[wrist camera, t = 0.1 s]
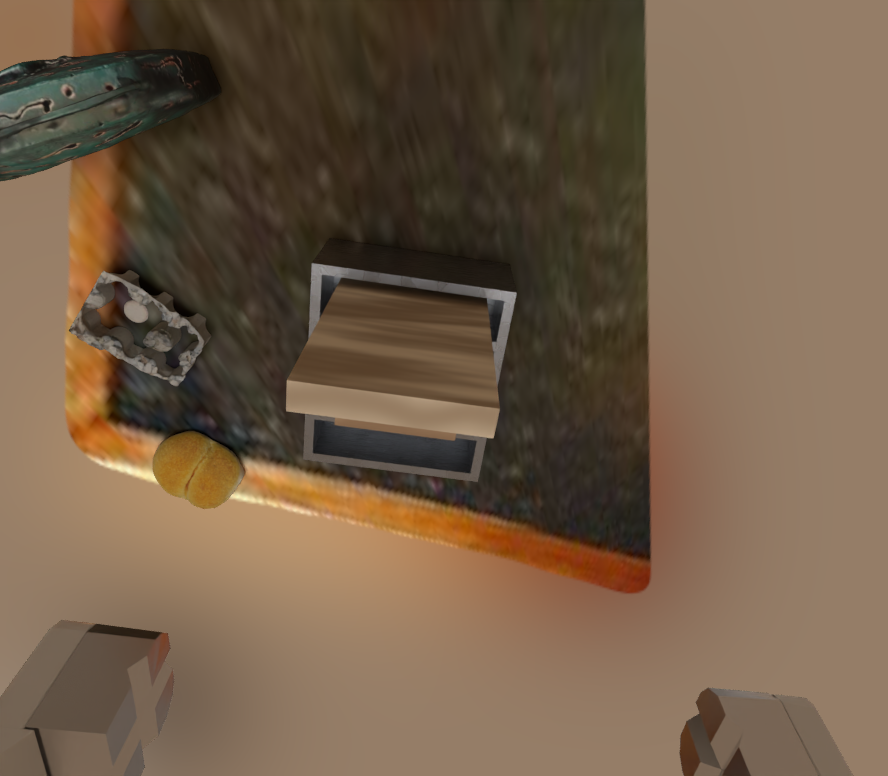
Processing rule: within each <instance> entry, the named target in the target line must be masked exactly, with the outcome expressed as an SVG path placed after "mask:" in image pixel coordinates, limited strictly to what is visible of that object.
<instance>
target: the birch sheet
mask: <svg viewBox="0 0 888 776" xmlns="http://www.w3.org/2000/svg"><path fill="white" fill-rule="evenodd" d="M499 410H500V407H499V398H498V390H497V381H496V372H495V364H494V355H493V347H492V338H491V330H490V321H489V313H488V304H487V298H482V297H475V296H468V295H461V294H454V293H447V292H440V291H433V290H426V289H419V288H412V287H405V286H398V285H391V284H384V283H377V282H370V281H363V280H356V279H349V278H342V277H341V279H340V281H339V283H338V285H337V287H336V289H335V291H334V293H333V294H332V296H331V298H330V300H329V302H328V304H327V306H326V308H325V309H324V311H323V313H322V315H321V317H320V319H319V321H318V323H317V325H316V326H315V328H314V330H313V332H312V334H311V336H310V338H309V340H308V342H307V343H306V345H305V347H304V349H303V351H302V353H301V355H300V357H299V358H298V360H297V362H296V364H295V366H294V368H293V370H292V372H291V374H290V375H289V377H288V379H287V397H286V411H290V412H297V413H305V414H312V415H320V416H328V417H335V418H343V419H350V420H358V421H365V422H373V423H381V424H388V425H396V426H403V427H411V428H418V429H426V430H433V431H441V432H449V433H456V434H464V435H471V436H479V437H486V438H494V434H495V429H496V424H497V420H498V415H499Z"/></svg>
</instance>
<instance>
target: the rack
mask: <svg viewBox="0 0 888 776" xmlns="http://www.w3.org/2000/svg"><path fill="white" fill-rule="evenodd" d="M341 277H342V278H349V279H356V280H363V281H370V282H377V283H384V284H391V285H398V286H405V287H412V288H419V289H426V290H433V291H440V292H447V293H454V294H461V295H468V296H475V297H482V298H487V304H488V313H489V321H490V330H491V338H492V347H493V355H494V364H495V372H496V381H497V386H498V381H499V376H500V371H501V366H502V362H503V357H504V352H505V347H506V342H507V337H508V333H509V328H510V323H511V318H512V313H513V308H514V304H515V299H516V294H517V292H516V287H515V283H514V279H513V275H512V271H511V267H510V264H503V263H496V262H490V261H483V260H476V259H469V258H462V257H455V256H449V255H442V254H435V253H428V252H421V251H414V250H407V249H401V248H394V247H387V246H380V245H373V244H366V243H359V242H353V241H346V240H339V239H332V238H329V240H328V241H327V243H326V244H325V245H324V247H323V248H322V250H321V251H320V253H319V254H318V255H317V257H316V258H315V260H314V261H313V262H312V273H311V296H310V319H309V338H310V336H311V334H312V332H313V330H314V328H315V326H316V325H317V323H318V321H319V319H320V317H321V315H322V313H323V311H324V309H325V308H326V306H327V304H328V302H329V300H330V298H331V296H332V294H333V293H334V291H335V289H336V287H337V285H338V283H339V281H340V279H341ZM486 439H487V438H486V437H479V436H471V435H464V434H456V437H455V441H452V440H445V439H437V438H429V437H422V436H414V435H407V434H399V433H391V432H384V431H376V430H369V429H361V428H353V427H346V426H338V425H335V417H328V416H320V415H312V414H305V433H304V456H303V459H304V460H312V461H320V462H328V463H335V464H343V465H351V466H359V467H366V468H374V469H382V470H390V471H397V472H405V473H413V474H421V475H429V476H436V477H444V478H452V479H460V480H467V481H475V482H478V477H479V473H480V468H481V463H482V458H483V453H484V449H485V444H486Z"/></svg>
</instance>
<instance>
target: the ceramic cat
mask: <svg viewBox="0 0 888 776" xmlns="http://www.w3.org/2000/svg"><path fill="white" fill-rule="evenodd" d="M220 93H221V89H220V86H219V84H218V81H217V79H216V77H215V75H214V73H213V71H212V68H211V65H210V62H209V60H208V57H206V56H204V55H200V54H198V53H195V52H188V51H181V50H174V49H157V50H133V51H124V52H115V53H106V54H99V55H93V56H81V57H67V56H61V57H59V58H57V59H54V60H36V61H28V62H22V63H18V64H15V65H13V66H10V67H8V68H6V69H4V70H2V71H0V181H5V180H11V179H16V178H19V177H22V176H26V175H30V174H34V173H36V172H40V171H44V170H47V169H49V168H52V167H54V166H57V165H59V164H62V163H64V162H67V161H70V160H72V159H76V158H79V157H82V156H85V155H89V154H91V153H94V152H97V151H100V150H103V149H105V148H108V147H111V146H113V145H115V144H117V143H119V142H121V141H123V140H125V139H127V138H130V137H132V136H135V135H137V134H139V133H142V132H144V131H146V130H149V129H151V128H153V127H155V126H158V125H160V124H163V123H165V122H168V121H170V120H173V119H175V118H177V117H180V116H183V115H184V114H186V113H188V112H189V111H191V110H192V109H194V108H196V107H199V106H201V105H203V104H205V103H207V102H209V101H211V100H213V99H214V98H216V97H217V96H218V95H220Z"/></svg>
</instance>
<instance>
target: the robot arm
mask: <svg viewBox="0 0 888 776" xmlns="http://www.w3.org/2000/svg"><path fill="white" fill-rule="evenodd" d="M169 651H170V642H169V636H168V633H162V632H154V631H147V630H140V629H131V628H124V627H116V626H109V625H101V624H94V623H85V622H76V621H67V620H61V621H59V622H58V623H57V624H56V625H54V626H53V627H52V628H51V629H49V630H48V632H47V633H46V635H45V636H44V637H43V639H42V640H41V641H40V643H39V644H38V646H37V647H36V648H35V650H34V651H33V652H32V654H31V655H30V657H29V658H28V659H27V661H26V662H25V664H24V665H23V667H22V668H21V669H20V671H19V672H18V673H17V675H16V676H15V678H14V679H13V680H12V682H11V683H10V684H9V686H8V687H7V689H6V690H5V691H4V693H3V694H2V695H1V697H0V776H141V774H142V772H143V770H144V768H145V765H144V758H143V751H142V749H143V748H144V747H145V746H147V745H148V744H149V743H150V742H152V741H153V740H154V739H155V738H157V737H158V736H159V734H160V731H161V729H162V726H163V724H164V722H165V720H166V717H167V714H168V710H169V707H170V703H171V699H172V695H173V686H174V674H173V668H172V667H170V666H169V664H168V663H167V662H165V659H166V657H167V655H168V653H169ZM696 704H697V707H698V710H699V714H698V715H696V716H694V717H693V718H691V719H689V720H688V721H686V724H685V726H684V729H683V731H682V733H681V738H680V759H681V766H682V771H683V775H684V776H853V774H852V773H851V771H850V769H849V767H848V765H847V764H846V762H845V760H844V758H843V756H842V754H841V753H840V751H839V749H838V747H837V745H836V744H835V742H834V740H833V738H832V736H831V735H830V733H829V731H828V729H827V728H826V726H825V724H824V722H823V720H822V719H821V717H820V715H819V713H818V711H817V710H816V708H815V706H814V705H813V704H812V703H811V702H810V701H809V700H808V699H807V698H802V697H794V696H783V695H770V694H769V693H761V692H750V691H739V690H726V689H715V688H707V689H705V690H704V691H702V692H701V693H700V695H699V697H698V699H697V701H696Z"/></svg>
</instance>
